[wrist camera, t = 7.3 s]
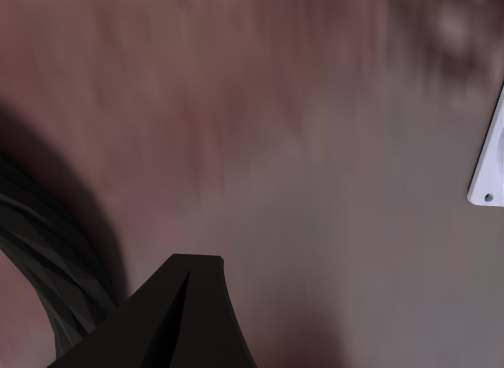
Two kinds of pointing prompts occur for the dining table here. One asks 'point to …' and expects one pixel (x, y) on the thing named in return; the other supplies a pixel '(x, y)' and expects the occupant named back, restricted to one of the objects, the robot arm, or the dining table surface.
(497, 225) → the dining table surface
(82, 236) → the cable lock
